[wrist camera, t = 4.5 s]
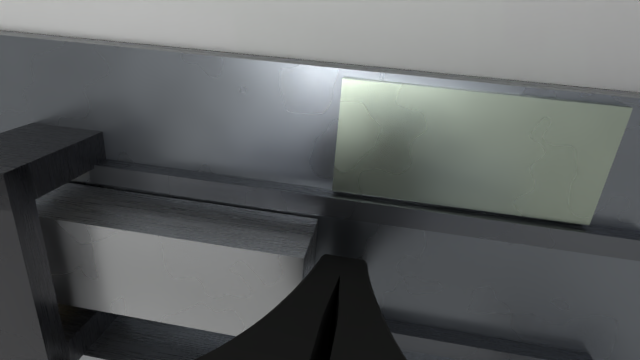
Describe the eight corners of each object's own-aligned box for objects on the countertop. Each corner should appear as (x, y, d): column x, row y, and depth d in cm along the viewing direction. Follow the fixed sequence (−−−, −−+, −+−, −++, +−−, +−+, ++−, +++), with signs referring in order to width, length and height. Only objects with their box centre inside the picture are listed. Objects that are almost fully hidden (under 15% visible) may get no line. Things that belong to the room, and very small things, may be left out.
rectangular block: (318, 219, 13) (303, 258, 11) (311, 298, 14) (297, 347, 12) (23, 176, 14) (-39, 204, 12) (40, 252, 15) (-14, 290, 13)
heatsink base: (869, 115, 10) (1194, 188, 6) (673, 441, 15) (781, 609, 11) (-23, 27, 13) (-214, 37, 9) (45, 321, 18) (-60, 416, 14)
